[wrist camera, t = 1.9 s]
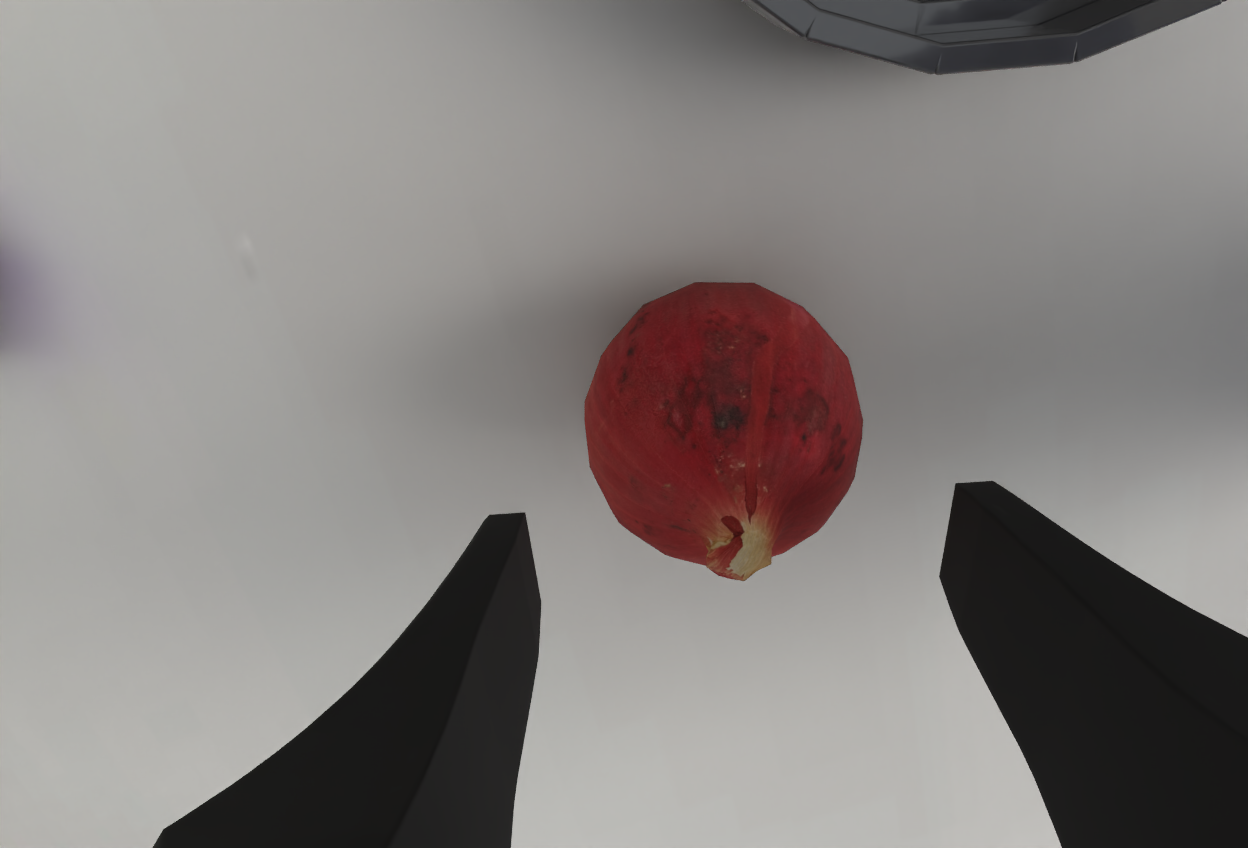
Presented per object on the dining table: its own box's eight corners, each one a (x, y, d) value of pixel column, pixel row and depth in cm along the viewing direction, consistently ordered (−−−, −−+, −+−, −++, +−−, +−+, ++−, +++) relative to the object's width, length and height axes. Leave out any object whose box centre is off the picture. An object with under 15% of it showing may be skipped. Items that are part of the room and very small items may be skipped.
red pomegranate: (585, 237, 18) (564, 408, 11) (830, 232, 18) (957, 400, 11) (594, 446, 21) (583, 679, 14) (805, 442, 21) (894, 674, 14)
